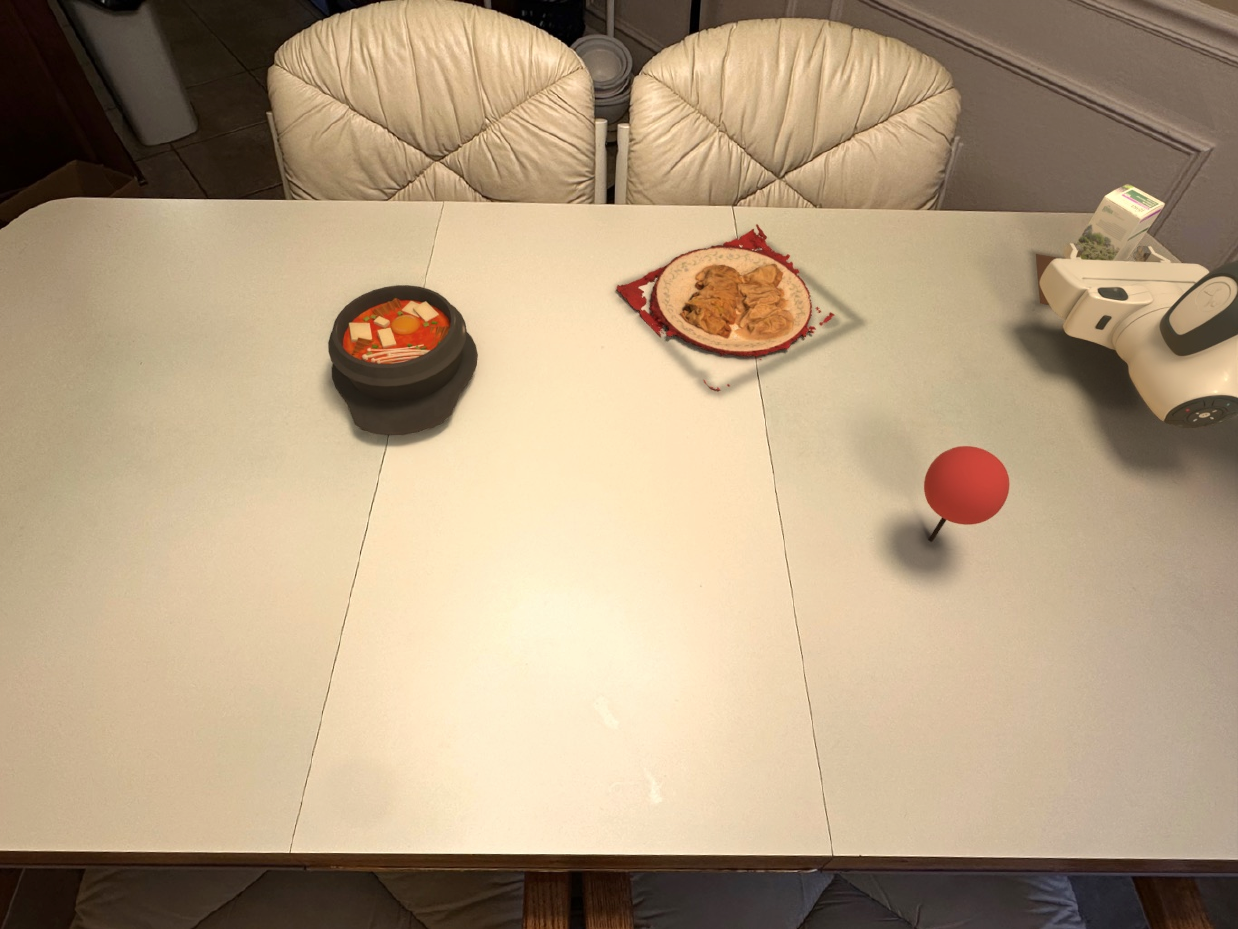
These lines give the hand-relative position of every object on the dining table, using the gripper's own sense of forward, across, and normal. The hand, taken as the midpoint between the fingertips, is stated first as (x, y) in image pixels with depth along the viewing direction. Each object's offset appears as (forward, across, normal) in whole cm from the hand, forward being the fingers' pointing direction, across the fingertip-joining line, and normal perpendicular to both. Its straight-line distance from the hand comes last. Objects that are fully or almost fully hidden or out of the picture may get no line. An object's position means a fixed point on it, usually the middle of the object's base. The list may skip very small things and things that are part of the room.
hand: (1105, 248), depth 100 cm
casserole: (-17, +92, +11) cm, 95 cm away
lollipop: (-41, +29, +11) cm, 52 cm away
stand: (+4, -3, +11) cm, 12 cm away
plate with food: (-3, +48, +11) cm, 50 cm away
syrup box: (+4, -3, +10) cm, 11 cm away
